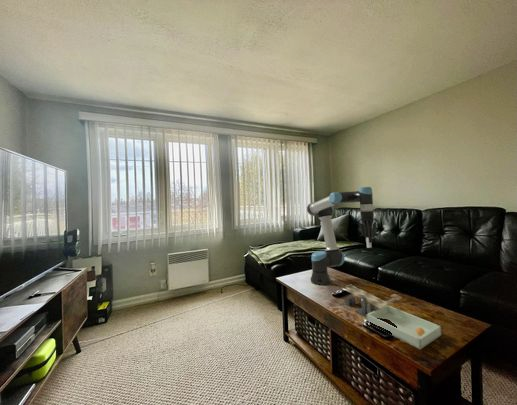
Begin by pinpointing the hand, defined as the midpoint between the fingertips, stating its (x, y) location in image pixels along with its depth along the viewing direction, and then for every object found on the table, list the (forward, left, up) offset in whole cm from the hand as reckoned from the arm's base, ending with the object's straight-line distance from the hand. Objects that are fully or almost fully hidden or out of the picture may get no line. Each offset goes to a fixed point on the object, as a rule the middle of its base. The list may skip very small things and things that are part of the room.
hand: (369, 247), depth 133 cm
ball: (+35, -18, -30) cm, 49 cm away
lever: (+8, -12, -25) cm, 29 cm away
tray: (+27, -18, -32) cm, 46 cm away
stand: (+6, -18, -32) cm, 37 cm away
